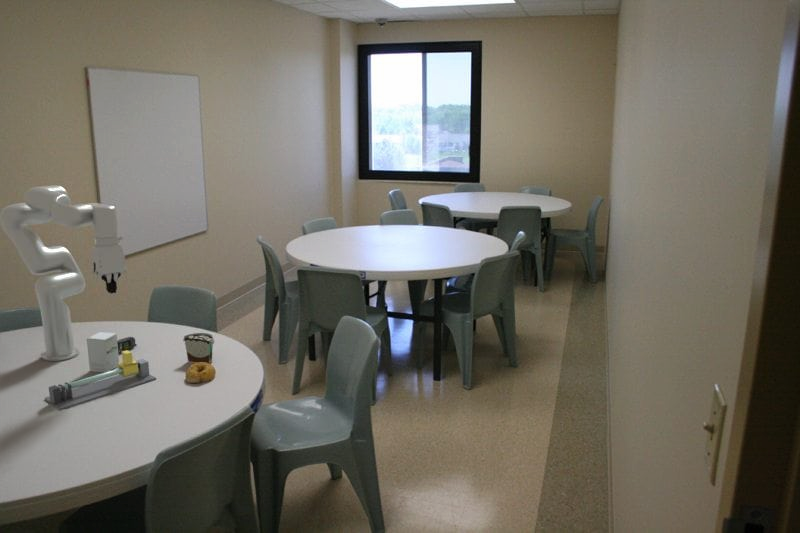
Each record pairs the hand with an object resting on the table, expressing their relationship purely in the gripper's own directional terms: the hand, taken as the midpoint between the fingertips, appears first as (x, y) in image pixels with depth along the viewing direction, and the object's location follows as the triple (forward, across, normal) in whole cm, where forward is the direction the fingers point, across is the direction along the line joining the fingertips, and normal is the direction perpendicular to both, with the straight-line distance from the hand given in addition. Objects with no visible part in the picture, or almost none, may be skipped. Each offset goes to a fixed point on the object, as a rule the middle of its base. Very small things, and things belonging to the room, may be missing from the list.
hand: (112, 292), depth 224 cm
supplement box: (+29, +3, -5) cm, 30 cm away
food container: (+29, -25, +15) cm, 41 cm away
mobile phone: (+30, -9, -17) cm, 35 cm away
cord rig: (+29, +13, +12) cm, 34 cm away
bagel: (+29, -15, +28) cm, 44 cm away
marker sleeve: (+26, +2, +12) cm, 29 cm away
